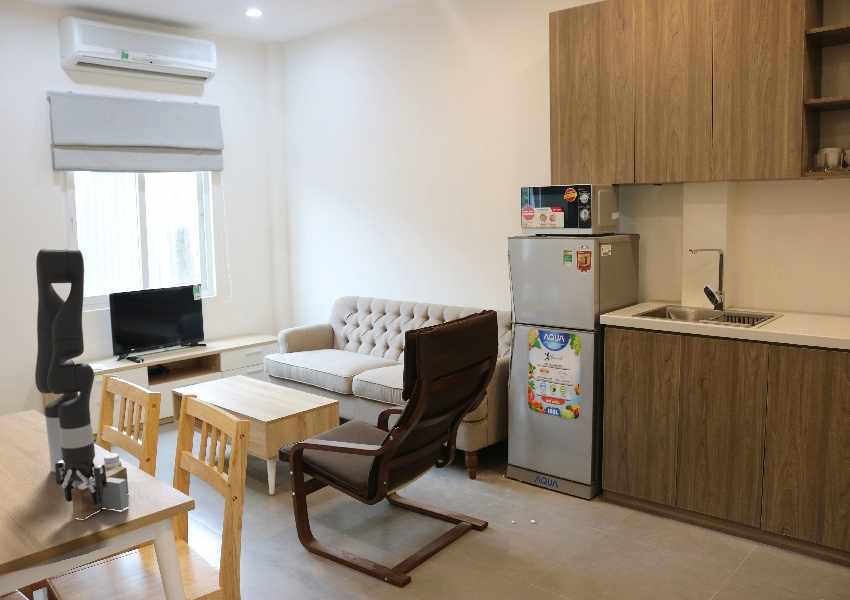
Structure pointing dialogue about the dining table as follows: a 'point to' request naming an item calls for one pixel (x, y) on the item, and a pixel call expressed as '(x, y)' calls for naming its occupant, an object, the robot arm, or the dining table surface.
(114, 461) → the supplement bottle
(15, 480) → the dining table surface
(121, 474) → the walnut plate
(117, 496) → the grey notched block
